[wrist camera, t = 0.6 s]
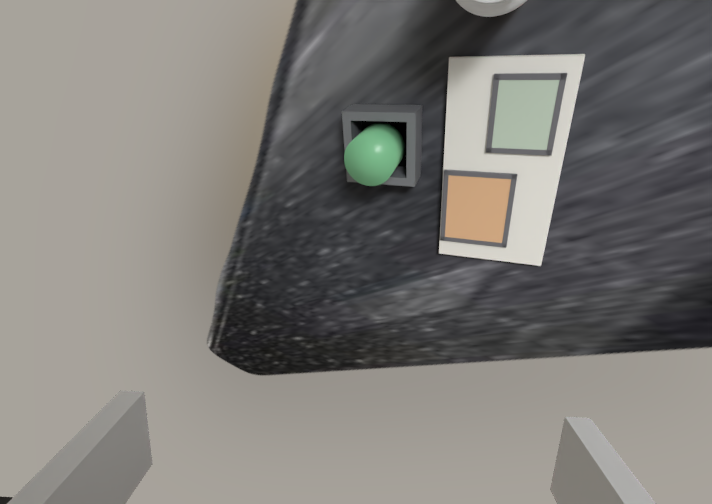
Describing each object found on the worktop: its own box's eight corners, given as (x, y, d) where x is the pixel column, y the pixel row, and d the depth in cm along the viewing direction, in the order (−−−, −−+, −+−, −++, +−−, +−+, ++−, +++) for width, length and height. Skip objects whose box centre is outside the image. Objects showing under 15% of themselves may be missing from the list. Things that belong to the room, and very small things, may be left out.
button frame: (352, 103, 35) (341, 111, 33) (422, 104, 33) (415, 113, 31) (356, 170, 38) (347, 181, 36) (420, 175, 37) (414, 186, 35)
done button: (357, 121, 34) (342, 134, 31) (405, 123, 33) (393, 136, 30) (360, 168, 36) (345, 184, 33) (405, 171, 35) (394, 187, 32)
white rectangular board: (450, 56, 31) (448, 58, 30) (584, 53, 28) (585, 55, 28) (439, 250, 40) (438, 254, 39) (540, 262, 37) (541, 267, 37)
